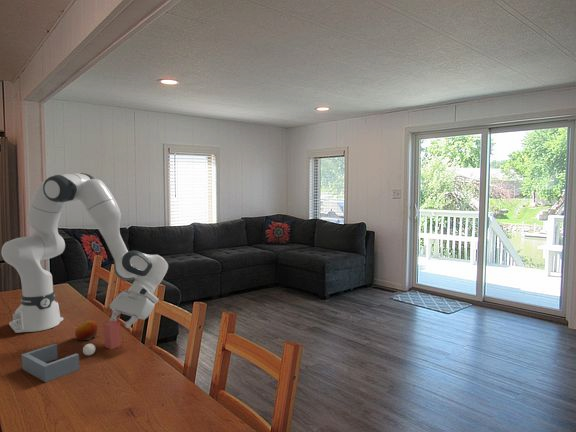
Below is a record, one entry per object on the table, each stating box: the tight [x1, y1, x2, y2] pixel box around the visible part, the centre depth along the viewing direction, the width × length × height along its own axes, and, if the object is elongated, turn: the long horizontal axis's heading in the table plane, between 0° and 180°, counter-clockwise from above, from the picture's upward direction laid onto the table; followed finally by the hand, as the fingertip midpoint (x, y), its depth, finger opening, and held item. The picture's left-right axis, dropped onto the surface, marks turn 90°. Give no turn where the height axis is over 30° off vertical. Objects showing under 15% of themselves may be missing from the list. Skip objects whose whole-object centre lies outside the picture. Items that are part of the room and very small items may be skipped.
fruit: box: [74, 319, 99, 341], centre depth 159 cm, size 8×8×8 cm
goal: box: [20, 343, 81, 383], centre depth 133 cm, size 16×10×5 cm, turn 55°
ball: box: [82, 343, 96, 356], centre depth 144 cm, size 4×4×4 cm
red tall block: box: [103, 320, 122, 350], centre depth 151 cm, size 4×4×9 cm
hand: (118, 324), depth 153 cm, fingers open, 8 cm apart
